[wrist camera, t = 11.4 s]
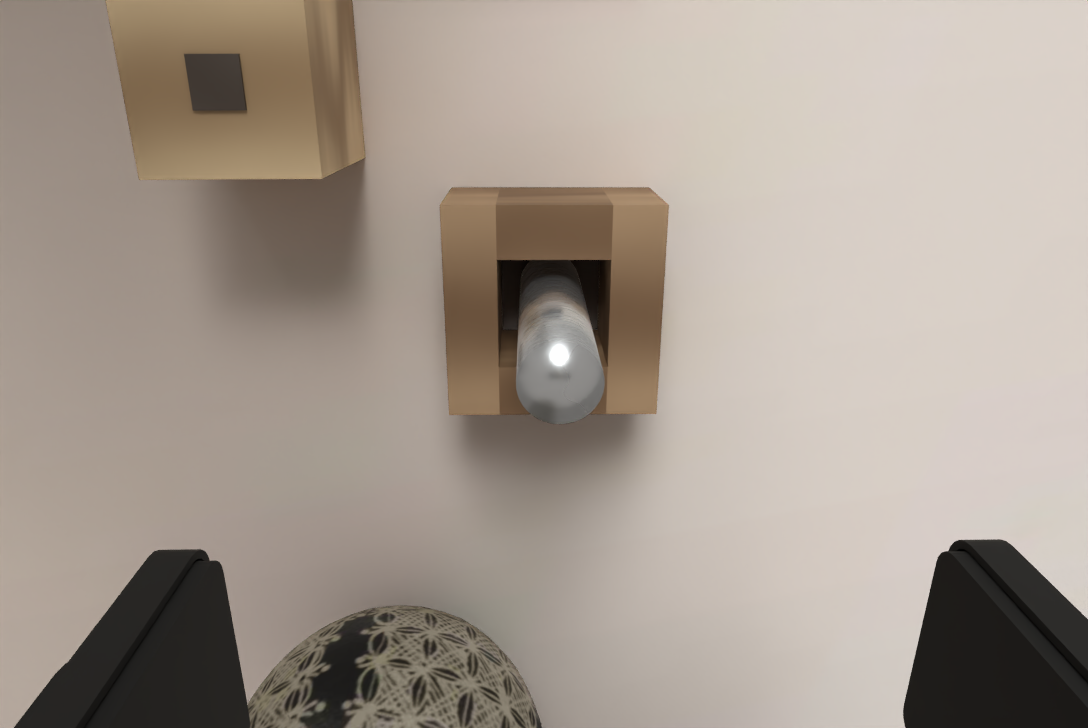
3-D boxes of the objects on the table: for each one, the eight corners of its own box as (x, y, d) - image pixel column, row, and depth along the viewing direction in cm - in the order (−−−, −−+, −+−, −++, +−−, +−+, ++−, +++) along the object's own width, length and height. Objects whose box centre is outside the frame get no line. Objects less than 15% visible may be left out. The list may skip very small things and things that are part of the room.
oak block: (198, 0, 25) (98, -24, 19) (352, -1, 25) (300, -24, 19) (221, 158, 26) (137, 180, 21) (365, 157, 27) (321, 179, 21)
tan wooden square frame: (452, 187, 27) (439, 205, 23) (649, 187, 27) (668, 205, 23) (459, 372, 29) (449, 414, 26) (640, 371, 30) (656, 413, 26)
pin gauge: (519, 253, 28) (515, 341, 18) (580, 253, 28) (606, 341, 18) (520, 311, 29) (516, 424, 19) (579, 311, 29) (603, 424, 19)
